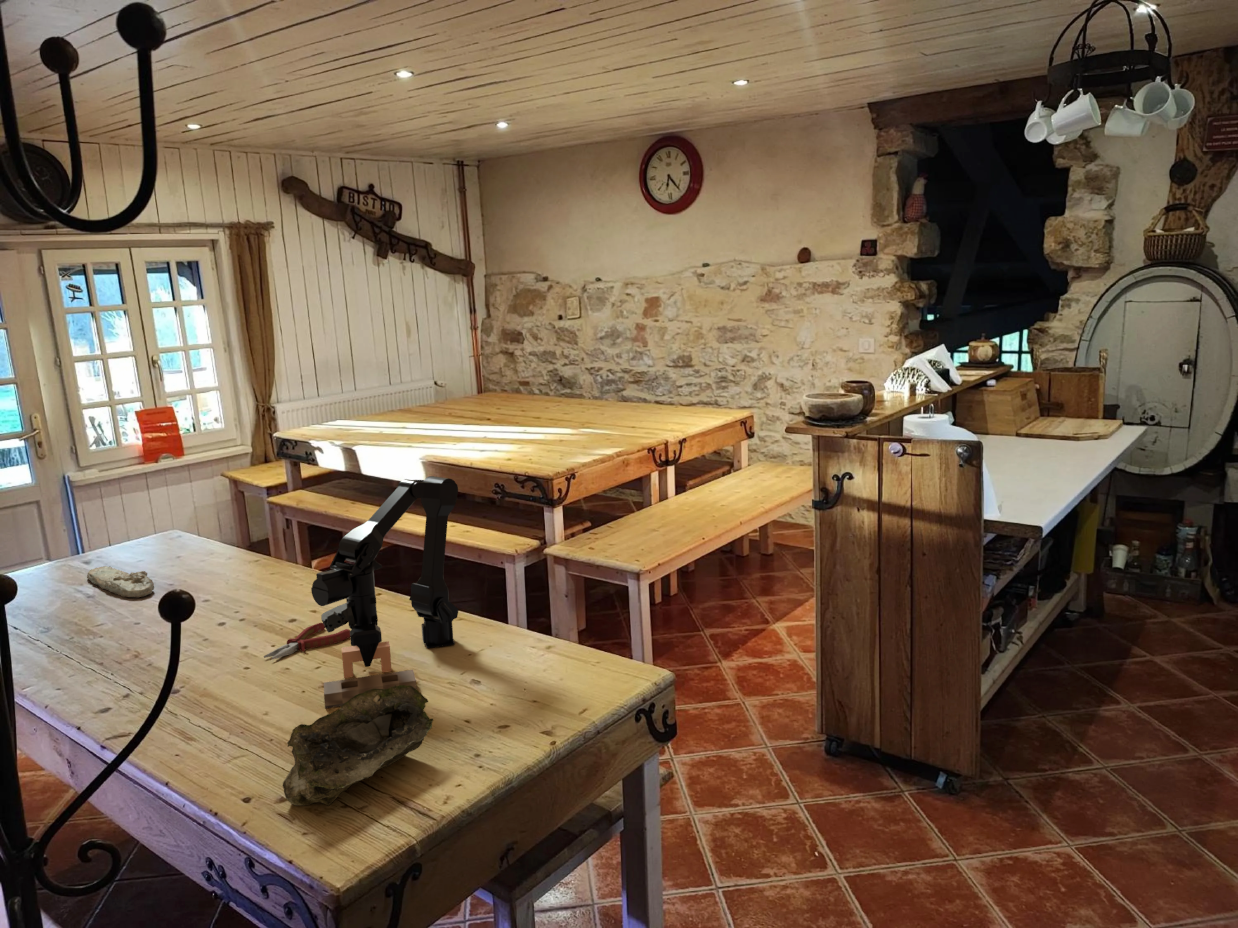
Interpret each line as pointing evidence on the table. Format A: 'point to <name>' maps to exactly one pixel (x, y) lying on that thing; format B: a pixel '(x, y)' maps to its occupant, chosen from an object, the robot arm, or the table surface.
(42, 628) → the table surface
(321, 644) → the pliers
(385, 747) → the hollow geode rock
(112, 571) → the elongated rock
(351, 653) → the clip
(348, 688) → the rail
